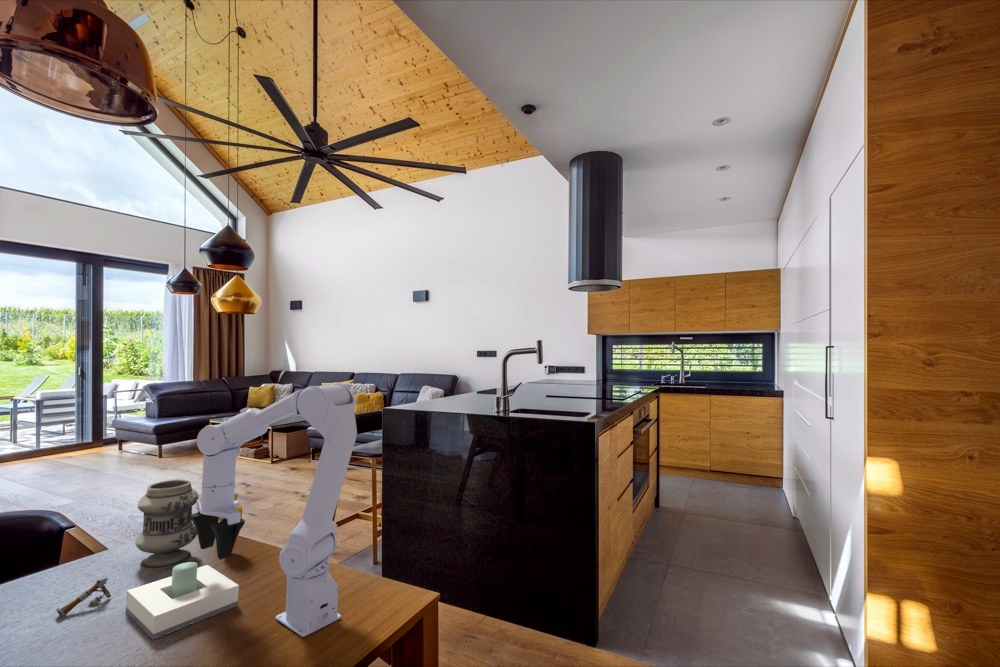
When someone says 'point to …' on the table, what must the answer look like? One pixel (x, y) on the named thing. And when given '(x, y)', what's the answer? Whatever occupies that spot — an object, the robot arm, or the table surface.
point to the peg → (184, 579)
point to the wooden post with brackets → (84, 595)
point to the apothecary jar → (167, 523)
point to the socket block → (180, 602)
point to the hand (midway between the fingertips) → (215, 552)
